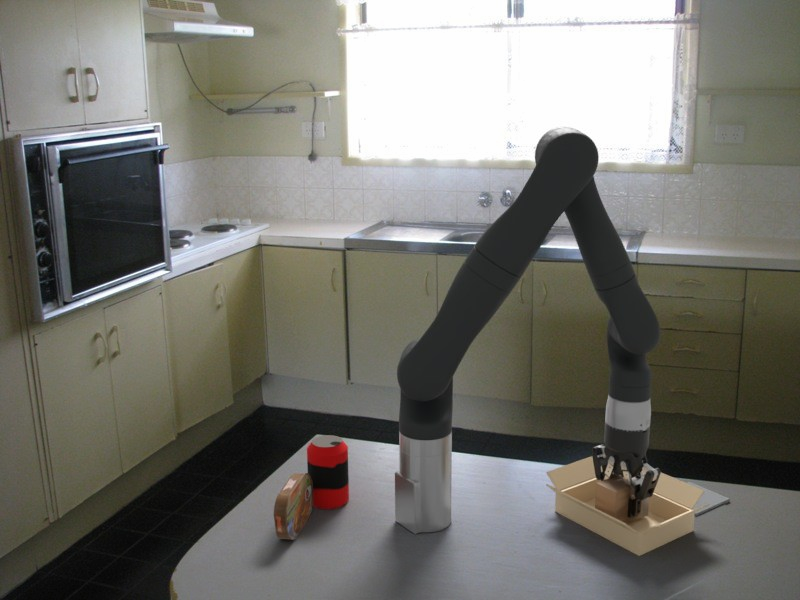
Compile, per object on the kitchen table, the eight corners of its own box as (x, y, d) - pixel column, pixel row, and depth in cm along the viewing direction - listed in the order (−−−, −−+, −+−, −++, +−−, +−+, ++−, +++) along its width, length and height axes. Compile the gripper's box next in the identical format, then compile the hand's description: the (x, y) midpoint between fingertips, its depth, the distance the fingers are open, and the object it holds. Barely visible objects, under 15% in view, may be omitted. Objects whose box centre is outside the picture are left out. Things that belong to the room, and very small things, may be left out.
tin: (289, 549, 146) (287, 503, 144) (272, 547, 147) (269, 501, 145) (315, 508, 161) (314, 465, 159) (299, 506, 161) (297, 464, 159)
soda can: (333, 513, 158) (331, 452, 155) (300, 503, 162) (298, 444, 159) (356, 497, 164) (355, 438, 162) (324, 488, 168) (322, 430, 165)
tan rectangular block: (613, 529, 150) (616, 492, 148) (594, 519, 153) (596, 483, 152) (647, 515, 155) (650, 479, 153) (628, 505, 158) (630, 470, 157)
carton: (641, 571, 138) (644, 533, 137) (530, 510, 159) (531, 476, 157) (720, 533, 150) (723, 498, 148) (606, 481, 170) (608, 449, 169)
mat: (695, 516, 156) (696, 513, 156) (655, 498, 163) (655, 495, 163) (729, 501, 161) (729, 498, 161) (688, 484, 168) (688, 481, 168)
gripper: (581, 412, 153) (577, 501, 157) (646, 438, 142) (639, 533, 146) (610, 404, 158) (605, 490, 162) (675, 428, 146) (668, 521, 150)
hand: (621, 510), depth 154 cm, fingers closed on tan rectangular block, 4 cm apart
